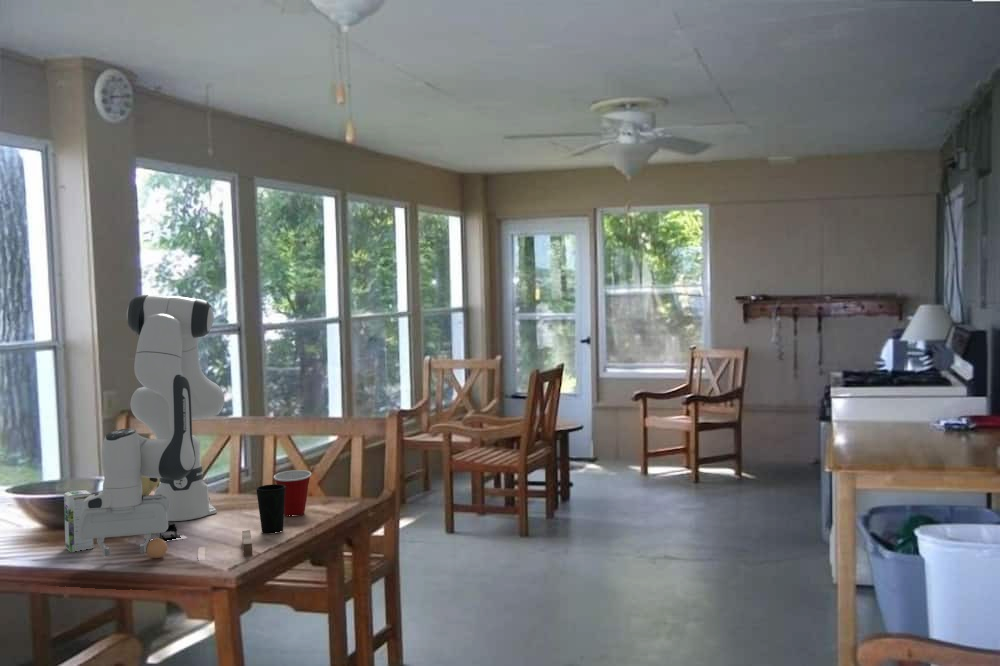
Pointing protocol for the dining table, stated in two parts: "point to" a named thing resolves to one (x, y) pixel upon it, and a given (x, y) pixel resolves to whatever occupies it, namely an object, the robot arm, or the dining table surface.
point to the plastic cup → (294, 490)
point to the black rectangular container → (170, 528)
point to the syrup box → (75, 521)
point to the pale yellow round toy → (149, 484)
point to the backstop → (247, 543)
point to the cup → (271, 507)
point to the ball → (156, 548)
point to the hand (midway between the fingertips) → (125, 553)
